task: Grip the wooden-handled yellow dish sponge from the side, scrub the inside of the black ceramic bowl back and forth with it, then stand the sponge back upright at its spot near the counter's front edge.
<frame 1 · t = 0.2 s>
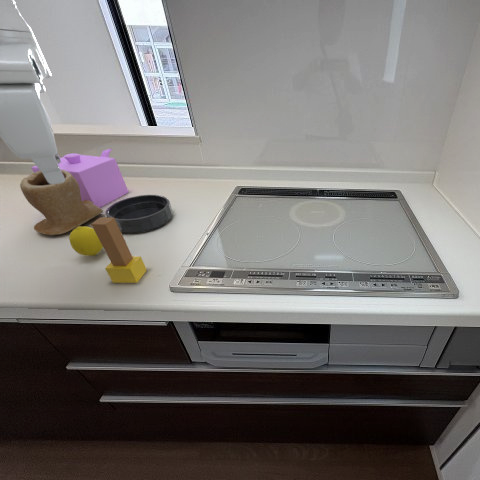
hand: (56, 171, 39), 25 cm above the worktop, tool pointing down, fingers open, 8 cm apart
lemon: (95, 256, 62), on the worktop
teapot: (95, 196, 87), on the worktop
sponge wand: (130, 276, 57), on the worktop
stone cup: (77, 224, 73), on the worktop
bowl: (144, 220, 76), on the worktop
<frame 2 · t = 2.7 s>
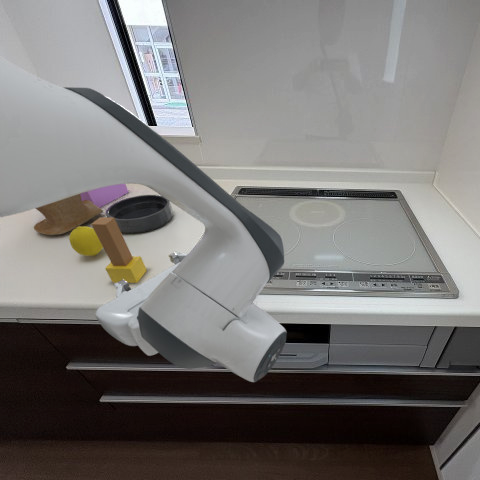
hand: (148, 269, 47), 8 cm above the worktop, tool horizontal, fingers open, 8 cm apart
nothing on the worktop moved.
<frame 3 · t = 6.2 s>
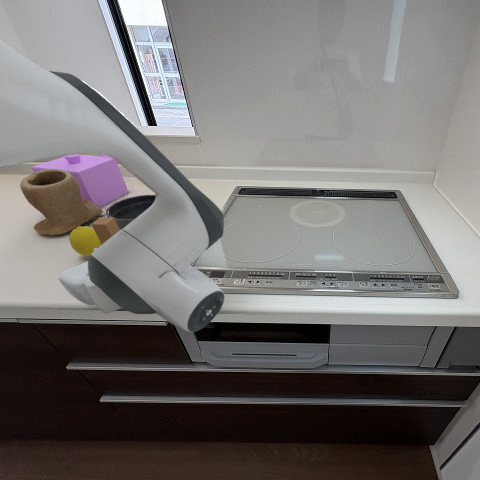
hand: (112, 244, 53), 8 cm above the worktop, tool horizontal, fingers closed on sponge wand, 3 cm apart
sponge wand: (130, 276, 57), on the worktop, touching gripper
everything else where it was.
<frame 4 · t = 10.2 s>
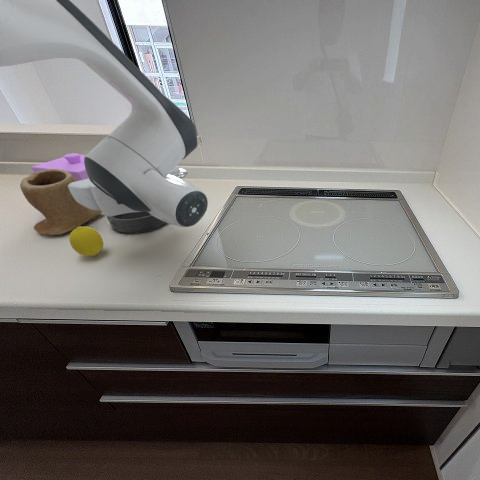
hand: (114, 172, 60), 17 cm above the worktop, tool horizontal, fingers closed on sponge wand, 3 cm apart
sponge wand: (129, 205, 65), point 9 cm above the worktop, touching gripper
everything else where it was.
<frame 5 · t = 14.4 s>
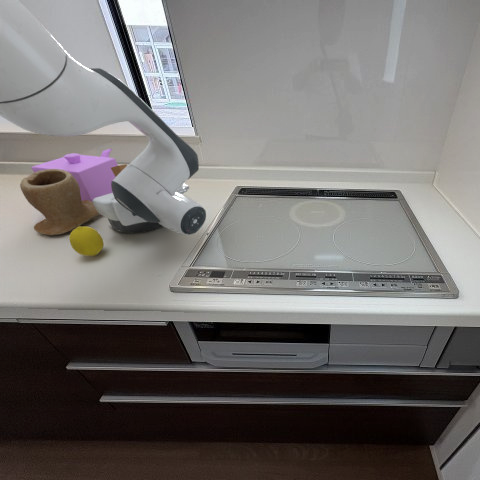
hand: (127, 187, 72), 9 cm above the worktop, tool horizontal, fingers closed on sponge wand, 3 cm apart
sponge wand: (143, 215, 75), point 2 cm above the worktop, tilted 20°, touching bowl, gripper
everything else where it was.
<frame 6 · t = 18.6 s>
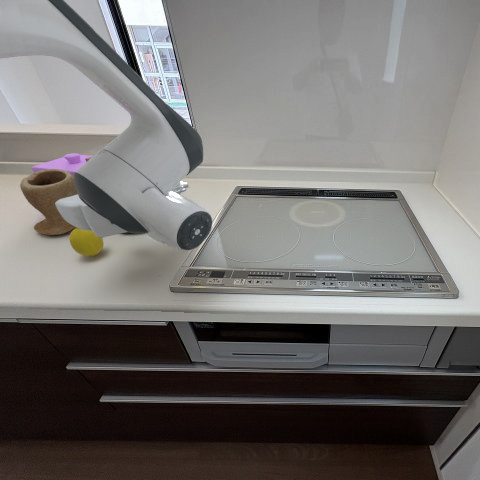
hand: (107, 185, 55), 17 cm above the worktop, tool horizontal, fingers closed on sponge wand, 3 cm apart
sponge wand: (127, 220, 59), point 9 cm above the worktop, tilted 5°, touching gripper
everything else where it was.
when the fingers open (8 cm above the worktop, at t = 22.6 s): sponge wand stays where it is, on the worktop.
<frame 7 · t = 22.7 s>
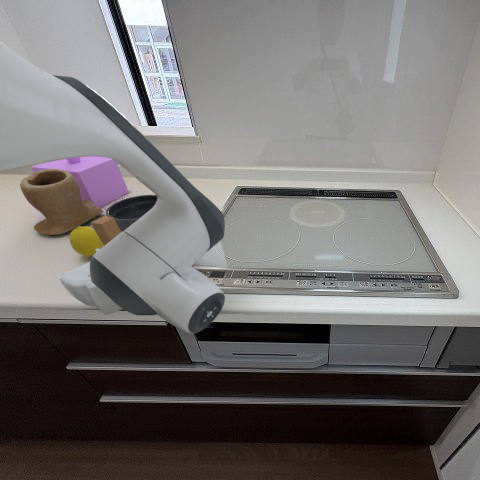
hand: (113, 245, 53), 8 cm above the worktop, tool horizontal, fingers open, 3 cm apart
sponge wand: (134, 277, 57), on the worktop
everything else where it was.
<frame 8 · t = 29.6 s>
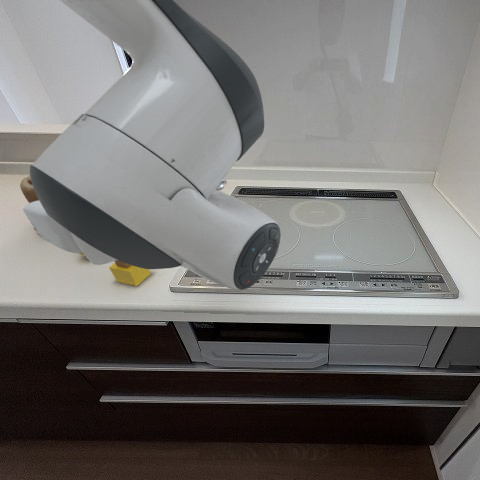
hand: (109, 181, 38), 25 cm above the worktop, tool horizontal, fingers open, 8 cm apart
at the end: sponge wand inside the target area on the worktop beside the bowl (1.1 cm from its centre), on the worktop; sponge wand tilted 0°; the gripper is holding nothing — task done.
